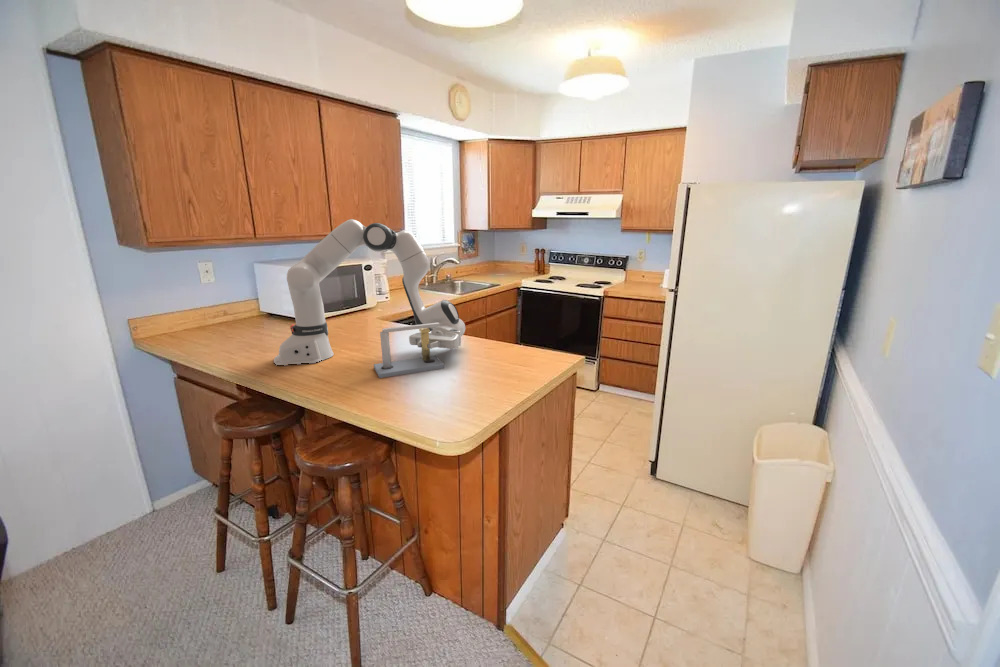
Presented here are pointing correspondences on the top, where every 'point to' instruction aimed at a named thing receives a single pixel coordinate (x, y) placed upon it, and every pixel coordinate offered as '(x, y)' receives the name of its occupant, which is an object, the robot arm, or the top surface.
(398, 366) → the bolt plate
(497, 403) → the top surface
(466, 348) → the top surface
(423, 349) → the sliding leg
